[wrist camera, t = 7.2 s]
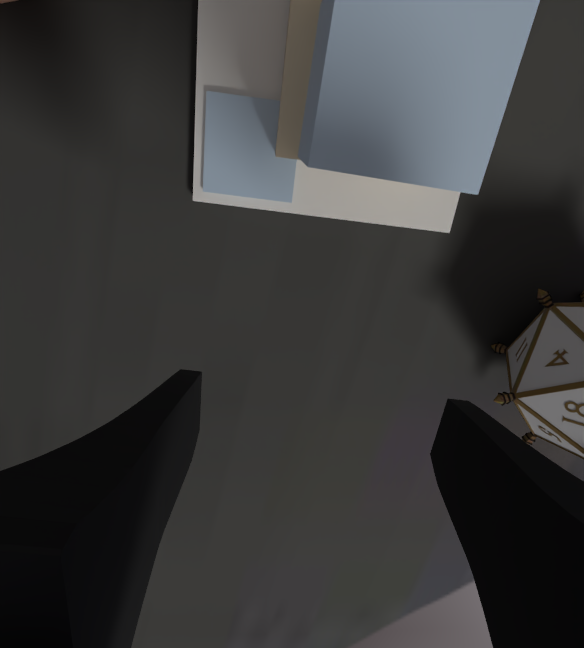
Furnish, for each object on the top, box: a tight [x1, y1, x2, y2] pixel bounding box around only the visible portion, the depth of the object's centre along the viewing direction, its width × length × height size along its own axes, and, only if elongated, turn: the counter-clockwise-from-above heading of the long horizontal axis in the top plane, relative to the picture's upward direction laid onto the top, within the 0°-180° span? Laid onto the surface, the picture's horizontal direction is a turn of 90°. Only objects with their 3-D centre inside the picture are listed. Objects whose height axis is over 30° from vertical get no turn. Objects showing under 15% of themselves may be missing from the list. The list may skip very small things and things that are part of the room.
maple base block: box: [275, 0, 322, 160], centre depth 16 cm, size 7×7×4 cm
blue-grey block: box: [298, 0, 540, 195], centre depth 12 cm, size 4×4×5 cm
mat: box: [193, 0, 460, 233], centre depth 18 cm, size 12×12×1 cm
